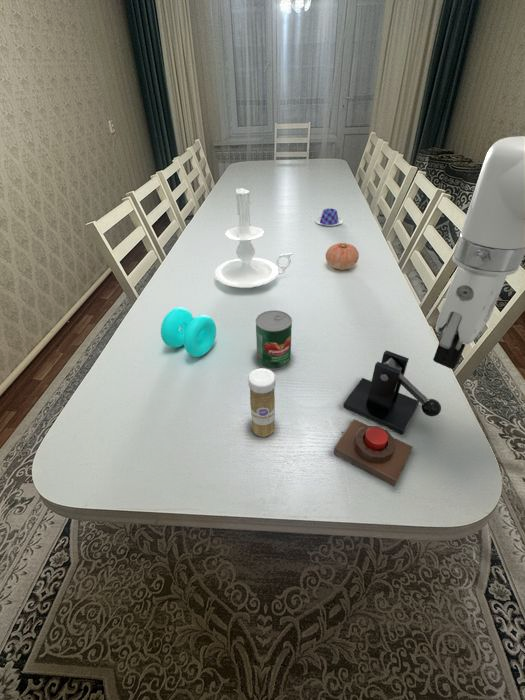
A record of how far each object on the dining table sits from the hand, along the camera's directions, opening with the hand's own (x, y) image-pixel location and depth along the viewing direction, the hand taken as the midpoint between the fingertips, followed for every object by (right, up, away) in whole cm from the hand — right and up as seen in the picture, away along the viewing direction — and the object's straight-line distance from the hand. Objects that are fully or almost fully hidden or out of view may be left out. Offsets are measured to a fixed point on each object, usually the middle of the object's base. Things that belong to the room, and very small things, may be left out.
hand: (444, 362), depth 56 cm
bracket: (-5, -9, +16) cm, 19 cm away
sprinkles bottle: (-29, -13, +12) cm, 34 cm away
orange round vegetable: (-2, +30, +65) cm, 72 cm away
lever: (-2, -6, +10) cm, 12 cm away
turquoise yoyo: (-46, +2, +32) cm, 56 cm away
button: (-9, -14, +5) cm, 17 cm away
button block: (-9, -16, +7) cm, 20 cm away
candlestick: (-32, +24, +59) cm, 71 cm away
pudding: (0, +57, +100) cm, 115 cm away
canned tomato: (-26, 0, +28) cm, 38 cm away
